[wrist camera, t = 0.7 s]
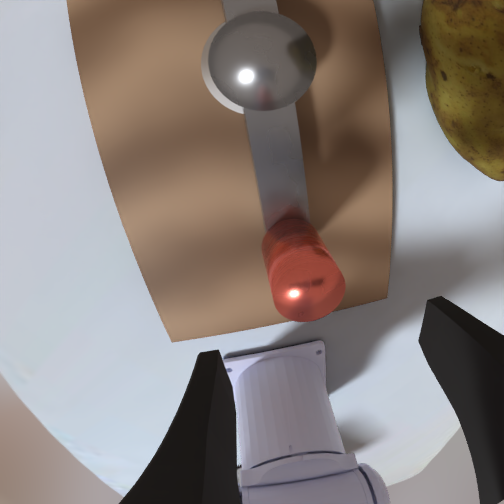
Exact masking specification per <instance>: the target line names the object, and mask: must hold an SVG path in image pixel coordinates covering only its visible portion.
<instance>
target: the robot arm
mask: <svg viewBox="0 0 504 504" xmlns="http://www.w3.org/2000/svg"><path fill="white" fill-rule="evenodd" d="M419 344H420V346H421V348H422V351H423V353H424V356H425V358H426V360H427V362H428V365H429V366H430V368H431V370H432V372H433V373H434V375H435V377H436V379H437V380H438V382H439V384H440V385H441V387H442V389H443V391H444V392H445V394H446V396H447V398H448V400H449V401H450V403H451V405H452V407H453V408H454V410H455V413H456V415H457V417H458V419H459V421H460V424H461V427H462V429H463V432H464V435H465V437H466V441H467V444H468V447H469V450H470V453H471V457H472V461H473V465H474V469H475V473H476V478H477V484H478V491H479V499H480V504H498V503H499V502H501V501H502V500H504V335H502V334H500V333H499V332H497V331H496V330H494V329H492V328H491V327H489V326H488V325H486V324H484V323H483V322H481V321H480V320H478V319H477V318H475V317H474V316H472V315H471V314H469V313H468V312H466V311H464V310H463V309H461V308H460V307H458V306H457V305H455V304H454V303H452V302H450V301H449V300H447V299H445V298H444V297H442V296H439V297H436V298H433V299H430V300H427V304H426V309H425V314H424V319H423V323H422V328H421V332H420V336H419ZM318 350H320V351H318ZM228 368H230V369H228ZM234 400H235V401H234ZM235 403H236V406H237V418H238V430H239V442H240V453H241V464H242V470H241V471H240V477H241V487H240V484H239V483H238V480H237V446H236V409H235ZM119 504H390V499H389V494H388V491H387V488H386V485H385V483H384V481H383V479H382V477H381V476H380V475H379V473H378V472H377V471H376V470H374V469H372V468H371V467H370V466H369V465H367V464H365V463H360V464H357V461H356V458H355V454H354V453H350V454H346V453H345V450H344V446H343V443H342V440H341V436H340V433H339V430H338V426H337V423H336V420H335V416H334V413H333V410H332V407H331V403H330V400H329V397H328V394H327V390H326V362H325V345H324V342H323V341H314V342H310V343H305V344H301V345H296V346H291V347H287V348H282V349H277V350H272V351H267V352H262V353H256V354H251V355H245V356H240V357H234V358H228V359H224V360H222V357H221V355H220V352H219V350H213V351H207V352H201V353H199V355H198V357H197V360H196V363H195V366H194V369H193V372H192V375H191V378H190V381H189V384H188V386H187V389H186V391H185V394H184V396H183V399H182V401H181V404H180V406H179V408H178V411H177V413H176V415H175V417H174V419H173V421H172V423H171V425H170V427H169V430H168V432H167V434H166V436H165V437H164V439H163V441H162V443H161V445H160V446H159V448H158V450H157V452H156V453H155V455H154V457H153V458H152V460H151V461H150V463H149V464H148V466H147V467H146V469H145V470H144V472H143V473H142V475H141V476H140V478H139V479H138V480H137V482H136V483H135V485H134V486H133V487H132V488H131V490H130V491H129V492H128V493H127V494H126V496H125V497H124V498H123V499H122V500H121V502H120V503H119Z"/></svg>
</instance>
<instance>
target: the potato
mask: <svg viewBox="0 0 504 504" xmlns="http://www.w3.org/2000/svg"><path fill="white" fill-rule="evenodd" d="M419 31H420V38H421V44H422V46H423V50H424V55H425V58H426V61H427V66H426V88H427V92H428V97H429V100H430V103H431V106H432V108H433V111H434V113H435V116H436V118H437V121H438V123H439V125H440V127H441V129H442V130H443V132H444V134H445V136H446V137H447V139H448V141H449V142H450V143H451V145H452V146H453V147H454V148H455V150H456V151H457V152H458V153H459V154H460V155H461V156H462V157H463V158H464V159H465V160H467V161H468V162H469V163H471V164H472V165H473V166H474V167H475V168H477V169H478V170H479V171H481V172H482V173H483V174H485V175H486V176H488V177H489V178H491V179H494V180H497V181H504V0H424V1H423V6H422V15H421V25H420V26H419Z"/></svg>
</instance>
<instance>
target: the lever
mask: <svg viewBox="0 0 504 504" xmlns="http://www.w3.org/2000/svg"><path fill="white" fill-rule="evenodd" d="M221 4H222V8H223V13H224V18H225V23H226V24H225V25H224V26H223V27H222V28H221V29H220V30H219V31H218V32H217V34H216V35H215V37H214V39H213V41H212V43H211V46H210V49H209V55H208V65H209V71H210V75H211V77H212V80H213V82H214V84H215V85H216V87H217V88H218V90H219V91H220V92H221V93H222V94H223V95H224V96H225V97H226V98H227V99H229V100H230V101H231V102H233V103H235V104H237V105H239V106H241V107H242V109H243V115H244V120H245V125H246V130H247V136H248V141H249V147H250V152H251V157H252V163H253V168H254V174H255V179H256V185H257V190H258V196H259V201H260V207H261V213H262V218H263V224H264V229H265V236H264V238H263V241H262V245H261V250H262V255H263V259H264V263H265V268H266V272H267V276H268V280H269V284H270V288H271V293H272V297H273V301H274V305H275V307H276V309H277V311H278V312H279V313H280V314H281V315H282V316H284V317H285V318H287V319H289V320H292V321H297V322H309V321H314V320H317V319H320V318H322V317H324V316H326V315H328V314H329V313H331V312H332V311H333V310H334V309H335V308H336V307H337V306H338V305H339V304H340V302H341V300H342V299H343V296H344V294H345V288H346V284H345V279H344V276H343V274H342V273H341V271H340V269H339V267H338V266H337V264H336V262H335V261H334V259H333V257H332V255H331V254H330V252H329V250H328V249H327V247H326V245H325V244H324V242H323V240H322V239H321V237H320V235H319V234H318V232H317V230H316V229H315V228H314V227H313V226H312V225H311V224H310V215H309V205H308V196H307V188H306V179H305V171H304V163H303V155H302V148H301V141H300V133H299V126H298V120H297V113H296V106H295V101H297V100H298V99H299V98H300V97H301V96H303V94H304V93H305V92H306V91H307V90H308V88H309V87H310V85H311V83H312V81H313V79H314V76H315V73H316V67H317V58H316V52H315V48H314V45H313V43H312V41H311V39H310V37H309V36H308V34H307V33H306V32H305V30H304V29H303V28H302V27H301V26H300V25H298V24H297V23H296V22H295V21H293V20H291V19H290V18H288V17H286V16H284V15H281V14H279V12H278V7H277V2H276V0H221Z"/></svg>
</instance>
